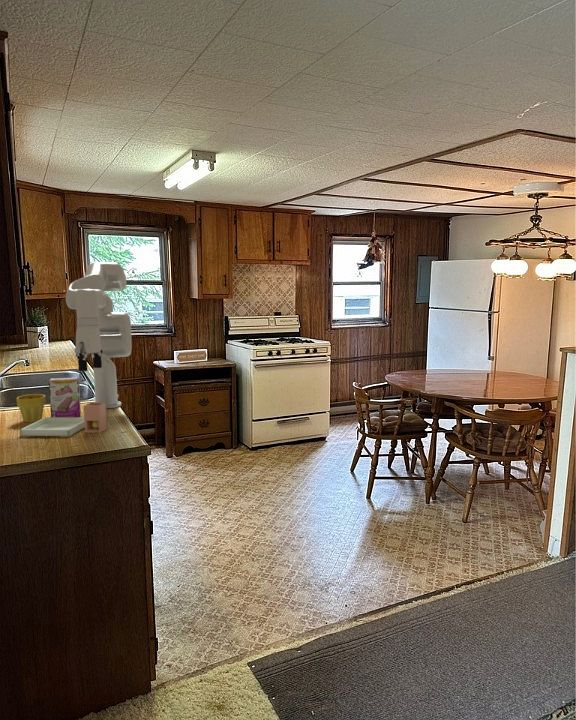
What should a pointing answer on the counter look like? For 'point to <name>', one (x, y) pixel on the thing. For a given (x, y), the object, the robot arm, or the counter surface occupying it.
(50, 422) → the tray
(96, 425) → the ball
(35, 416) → the plant pot
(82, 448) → the counter surface
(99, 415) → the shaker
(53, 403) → the candy bar box
